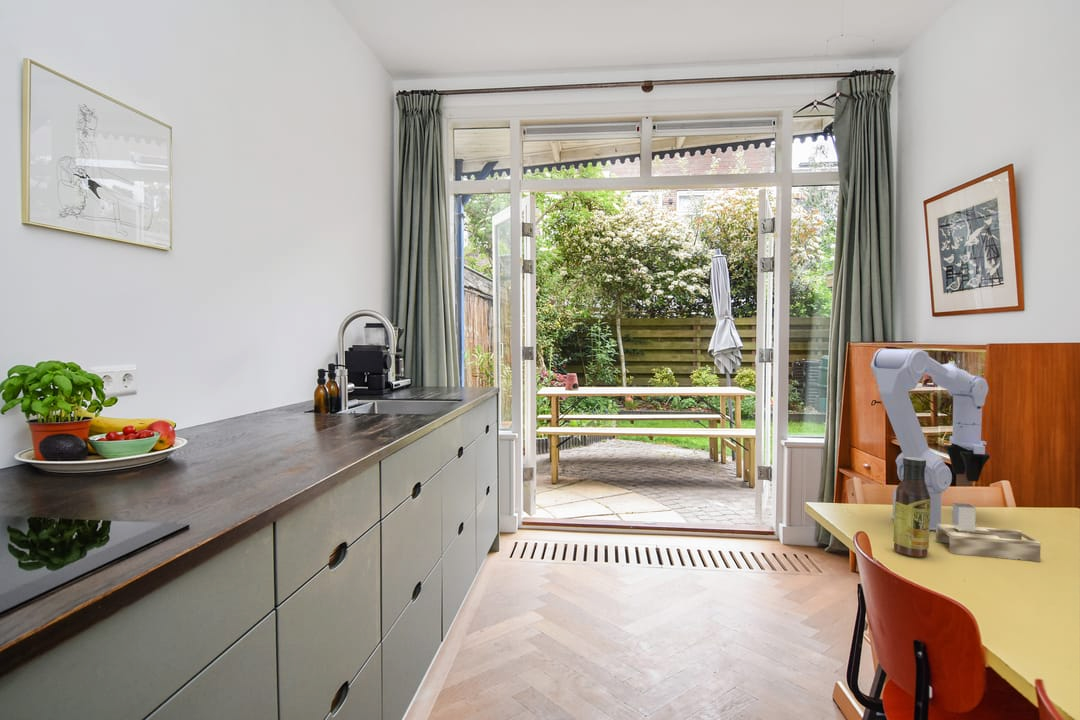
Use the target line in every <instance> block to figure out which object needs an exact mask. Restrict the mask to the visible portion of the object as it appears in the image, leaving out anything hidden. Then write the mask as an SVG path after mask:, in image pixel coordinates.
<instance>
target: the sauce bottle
mask: <svg viewBox="0 0 1080 720" xmlns="http://www.w3.org/2000/svg"><path fill="white" fill-rule="evenodd" d="M903 464H904V474H903V480H902V481H901V480H900V482H899V484H898V485H897V487H896V488H897V489H896V500H895V513H894V520H893V538H892V542H893V548H894V551H896V552H897V553H898V554H901V555H905V556H909V557H917V558H919V557H920V558H921V557H926V556H927V554H928V549H929V548H930V530H929V529H930V507H931V498H930V495H929V492H928V489H927V486H926V483H925V467H926V460H925V459H922V458H916V457H904V458H903Z"/></svg>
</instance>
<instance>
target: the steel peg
mask: <svg viewBox="0 0 1080 720" xmlns="http://www.w3.org/2000/svg"><path fill="white" fill-rule="evenodd" d="M976 513H977V512H976V507H975V506H973V505H971V504H969V503H960V502H958V503H957V502H952V524H951V525H952V526H953V527H955V528H956V529H957V530H958V533H969V531H972V532H975V527H976Z"/></svg>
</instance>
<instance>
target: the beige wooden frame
mask: <svg viewBox="0 0 1080 720" xmlns="http://www.w3.org/2000/svg"><path fill="white" fill-rule="evenodd" d="M952 525H953V524H948V523H947V524H946V523H945V524H944V523H941V524H936V531H935V541H936V542H937V543H942V544H944V543H946V544H948V553H950V554H952V555H953V554H954V555H964V556H965V555H966V556H977V557H987V558H996V557H997V558H999V559H1007V558H1008V559H1009V560H1018V559H1020V560H1021V561H1028V560H1029V562H1031V561H1032V562H1041V546H1042V544H1041V542H1040V541H1039V540H1037V539H1034V538H1033V537H1032V536H1030V535H1028V534H1026V533H1025V532H1023V531H1021V530H1020V529H1007V528H996V527H995V528H994V527H985V526H984V527H983V526H975V532H972V531H969V533H958V530H957V529H956V528H955V527H953V526H952ZM1022 538H1024V539H1022ZM1008 559H1007V560H1008Z"/></svg>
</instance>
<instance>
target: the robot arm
mask: <svg viewBox="0 0 1080 720" xmlns="http://www.w3.org/2000/svg"><path fill="white" fill-rule="evenodd" d="M870 367H871V368H870V369H871V371H872V374H873V375H874V376H873V377H874V380H876V383H877V385H878V393H879V397H880V400H881V401H882V404H883V407H884V409H885V412H886V414H887V416H888V420H889V423H890V424H891V427H892V429H893V432H894V435H895V437H896V439H897V442H898V445H899V447H900V450H901V452H900V454H898V455H897V457H896V459H895V464H896V467H897V468H896V473H897V477H898V479H899V480H900V482H901V481H902V480H903V474H904V464H903V458H904V457H916V458H922V459H925V460H926V467H925V483H926V486H927V489H928V492H929V495H930V498H931V507H930V529H929V531H935V532H936V524H942V497H943V496H942V493H944V492H945V491H946V490H947V489H948V488H949V487H950V486H951V483H952V482H953V481H952V480H953V475H952V472H953V474H954V475H965V477H966V481H967V482H975V483H977V482H979V480H980V478H981V475H982V471H983V469H984V466H985V465H986V463H987V462H988V461H989V459H990V458H991V455H990V454H988V453H986V445H987V441H985V440H982V422H983V421H982V420H983V419H982V418H983V415H982V414H983V412H982V411H983V406H985V403H986V397H987V395H988V392H989V388H990V387H989V385H988V382H987V380H986V378H984V377H983V376H982V375H973V374H971V373H969V371H968V370H963V369H961V368H960V367H958V365H957V364H956V363H954V362H953V363H952V362H947V363H944V364H941V363H940V362H938V361H937V360H936V359H934V358H932V357H930V355H929V352H928V351H924V350H923V349H921V348H913V349H912V348H911V349H910V348H909V349H908V348H886V347H883V348H879V349H877V350H876V351H875V353H874V354H873V356H872V360H871V363H870ZM924 375H926V376H929V377H931V378H932V381H933V383H934V384H936V386H939V387H941V388H943V389H945V390H947V392H948V394H949V396H950V397H953V398H952V402H953V403H952V405H953V406H952V435H950V436H949V444H950V445H949V444H948V445H944V446H943V447H944V449H945V450H946V452H947V455H948V457H949V459H950V460H949V461H950V464H951V468H952V472H951V469H950V468H949V466H948V465H946V463H945V460H944V459H943V457H941V455H939V454H937V453H935V452H934V451H932V450H931V449H930V447H929V445H928V442H927V439H926V437H925V434H924V432H923V429H922V426H921V423H920V421H919V418H918V417H917V413H916V410H915V407H914V405H913V403H912V400H911V398H910V395H909V392H910V391H913V390H915V389H916V388H917V385H918V384H919V383H920V381H921V379H922V378H923V376H924ZM896 489H897V487H894V490H893V495H892V516H891V519H892V520H893V521H894V513H895V500H896Z"/></svg>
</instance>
